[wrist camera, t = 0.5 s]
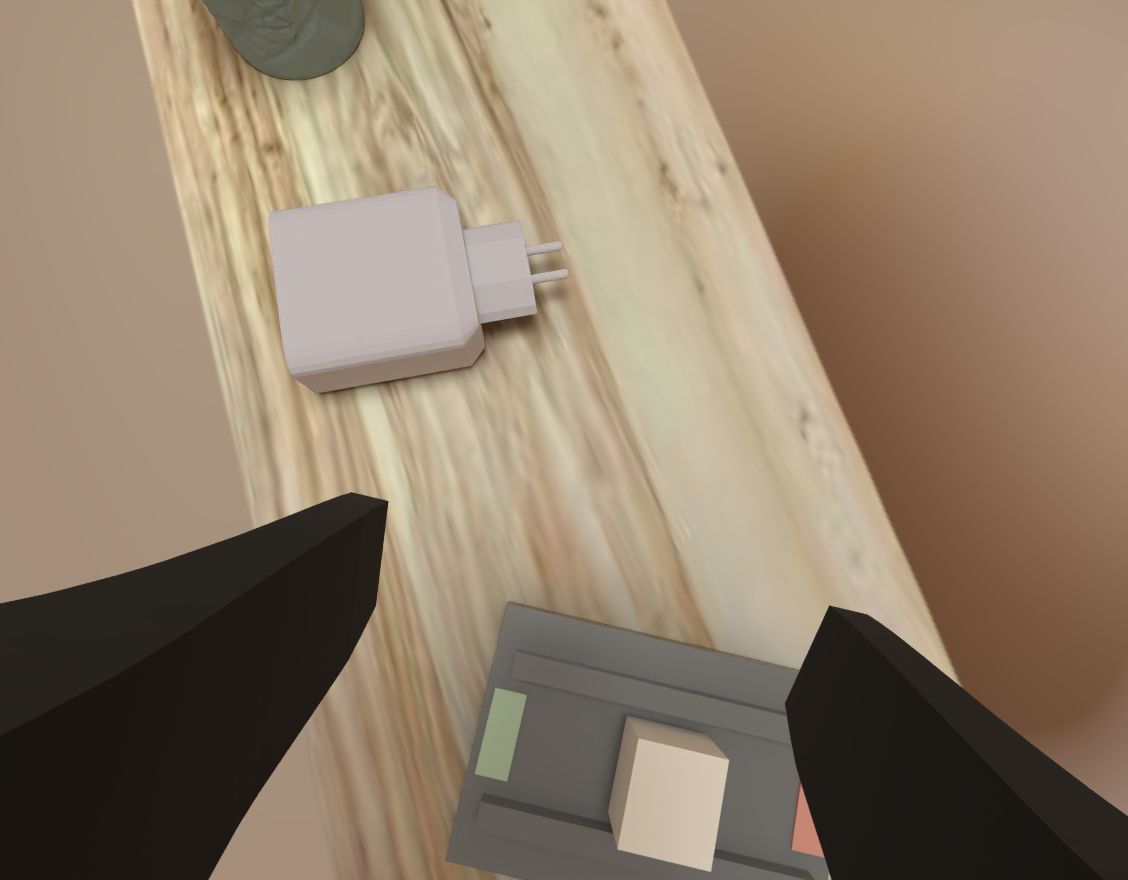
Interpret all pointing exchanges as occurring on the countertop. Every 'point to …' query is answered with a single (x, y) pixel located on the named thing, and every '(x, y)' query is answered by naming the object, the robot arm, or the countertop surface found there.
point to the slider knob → (667, 793)
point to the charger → (394, 286)
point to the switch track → (592, 744)
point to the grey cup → (291, 33)
